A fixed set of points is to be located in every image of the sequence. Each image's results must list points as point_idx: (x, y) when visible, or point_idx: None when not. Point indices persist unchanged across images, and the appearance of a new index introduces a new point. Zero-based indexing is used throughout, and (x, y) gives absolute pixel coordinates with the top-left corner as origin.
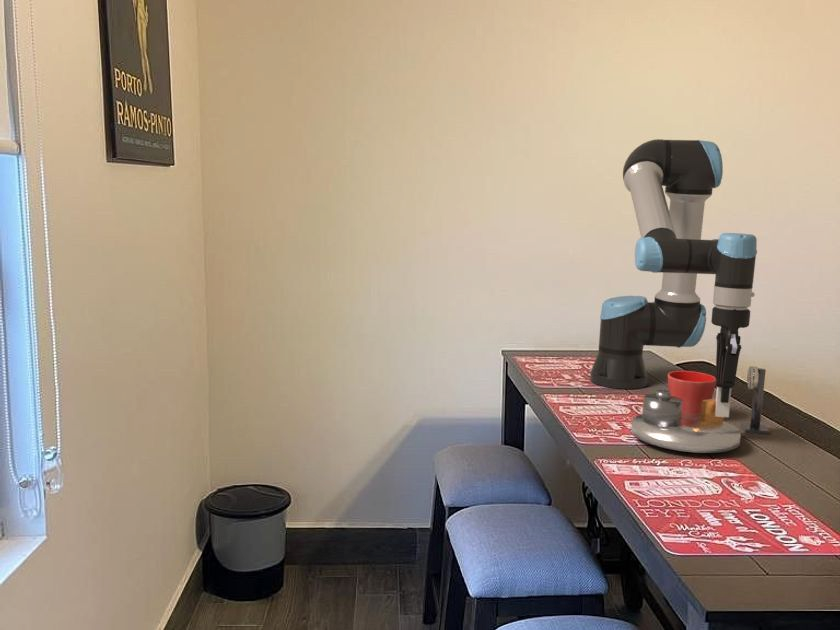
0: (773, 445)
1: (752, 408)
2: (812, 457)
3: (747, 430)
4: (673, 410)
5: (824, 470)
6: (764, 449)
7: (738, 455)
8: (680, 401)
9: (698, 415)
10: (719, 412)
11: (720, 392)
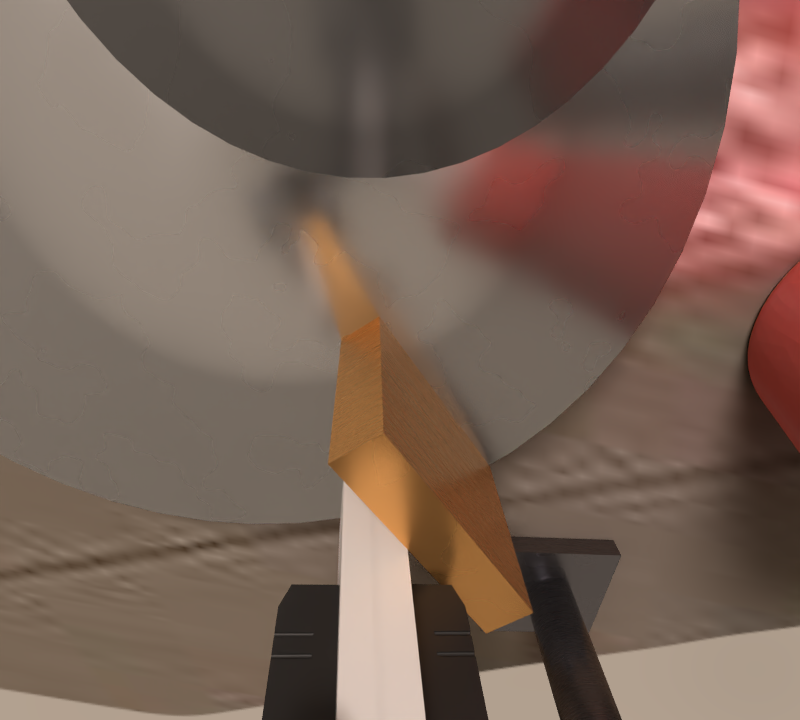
0: None
1: (584, 680)
2: (177, 675)
3: None
4: None
5: (8, 673)
6: (230, 551)
7: None
8: (248, 124)
9: (593, 355)
10: (342, 500)
11: (337, 676)
